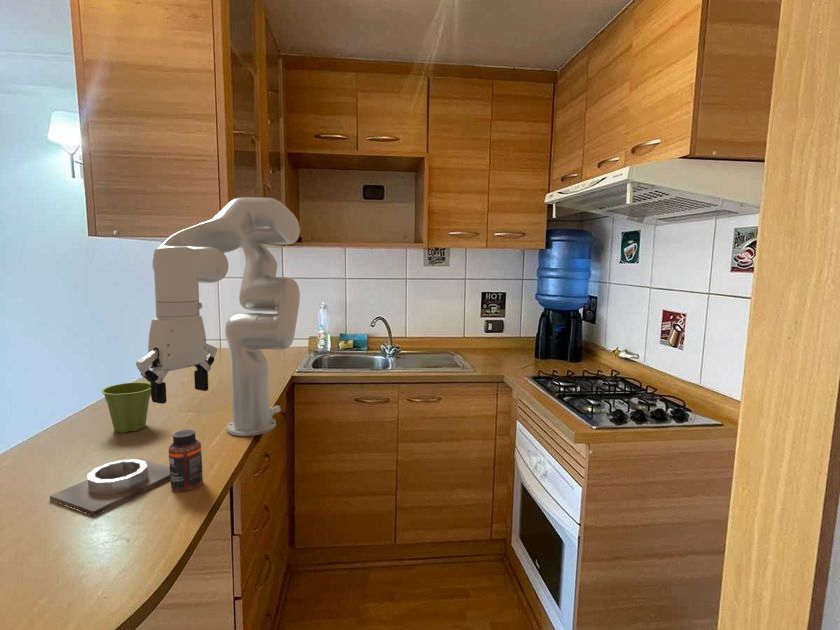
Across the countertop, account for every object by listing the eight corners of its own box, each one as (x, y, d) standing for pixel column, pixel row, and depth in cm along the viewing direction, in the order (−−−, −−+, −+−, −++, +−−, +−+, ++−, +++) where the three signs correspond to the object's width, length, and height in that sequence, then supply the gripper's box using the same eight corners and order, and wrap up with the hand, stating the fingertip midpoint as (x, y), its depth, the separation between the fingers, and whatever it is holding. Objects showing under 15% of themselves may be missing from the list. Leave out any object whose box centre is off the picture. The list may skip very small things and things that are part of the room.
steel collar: (126, 466, 100) (125, 455, 100) (158, 476, 96) (157, 464, 96) (76, 487, 91) (75, 475, 91) (110, 499, 87) (109, 486, 87)
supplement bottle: (208, 478, 98) (205, 427, 96) (195, 493, 92) (192, 438, 90) (179, 478, 97) (176, 427, 96) (164, 493, 92) (161, 438, 90)
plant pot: (145, 435, 120) (142, 393, 118) (95, 437, 118) (91, 394, 117) (162, 419, 132) (160, 381, 130) (117, 421, 130) (114, 382, 128)
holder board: (139, 462, 105) (139, 458, 104) (180, 474, 100) (180, 469, 99) (49, 500, 88) (49, 495, 88) (93, 516, 83) (93, 511, 83)
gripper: (200, 305, 99) (203, 383, 101) (121, 313, 83) (126, 405, 85) (227, 307, 96) (229, 387, 98) (150, 315, 80) (154, 411, 82)
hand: (181, 395), depth 92 cm, fingers open, 9 cm apart
